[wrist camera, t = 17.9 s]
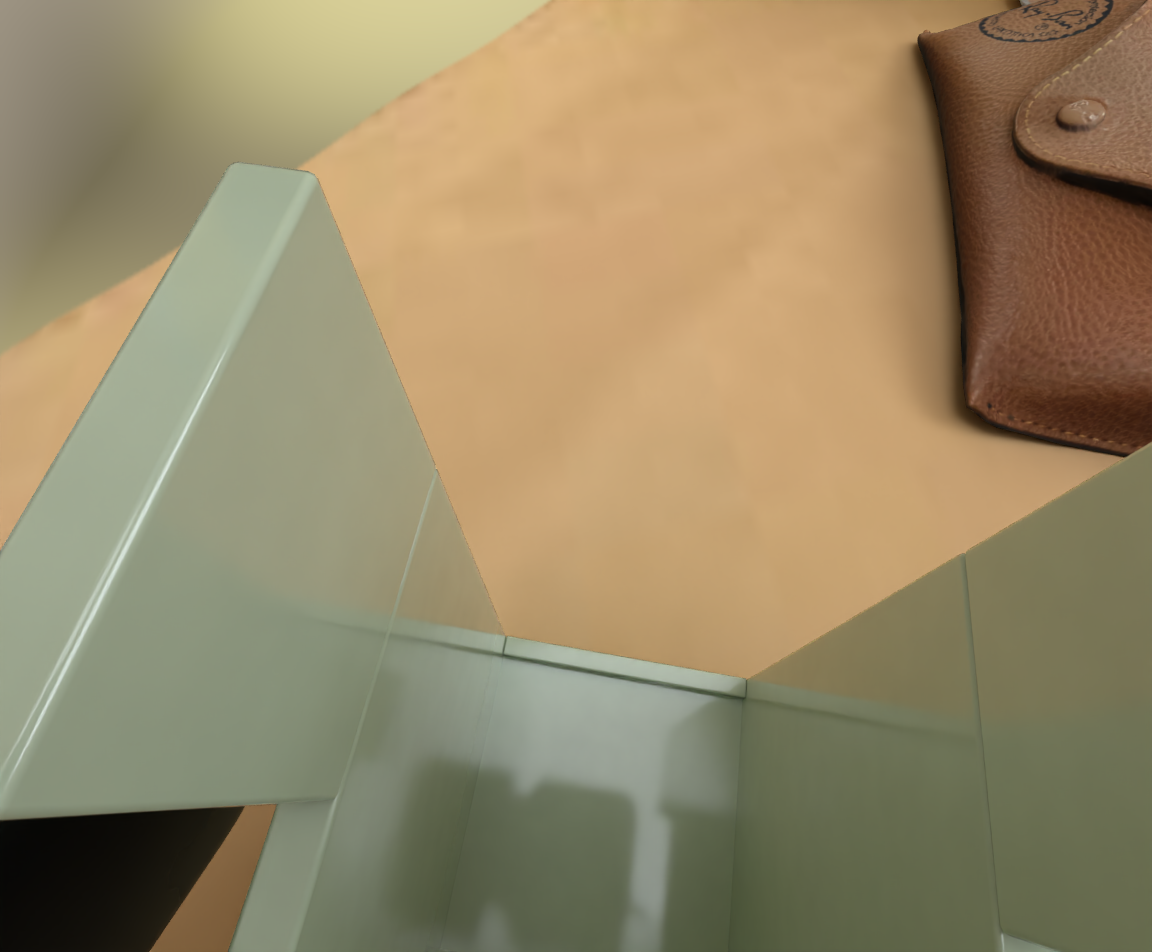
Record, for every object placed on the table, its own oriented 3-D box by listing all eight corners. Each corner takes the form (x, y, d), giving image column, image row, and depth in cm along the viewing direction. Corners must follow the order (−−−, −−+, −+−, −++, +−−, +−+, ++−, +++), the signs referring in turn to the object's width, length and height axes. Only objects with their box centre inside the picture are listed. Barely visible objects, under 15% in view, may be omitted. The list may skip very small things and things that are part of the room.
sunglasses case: (904, 20, 24) (1113, -177, 19) (1008, 124, 27) (1214, -20, 22) (962, 431, 17) (1341, 293, 11) (1098, 514, 20) (1450, 436, 14)
